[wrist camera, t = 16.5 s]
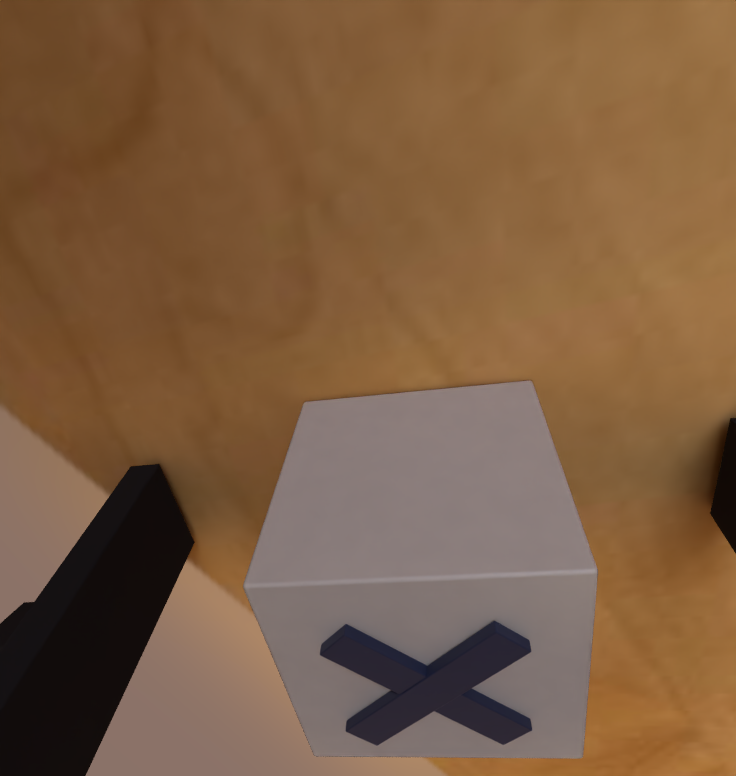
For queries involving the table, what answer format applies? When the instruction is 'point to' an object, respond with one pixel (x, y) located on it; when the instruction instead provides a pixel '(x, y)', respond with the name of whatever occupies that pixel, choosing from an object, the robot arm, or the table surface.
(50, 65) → the table surface
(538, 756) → the tile
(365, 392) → the table surface
